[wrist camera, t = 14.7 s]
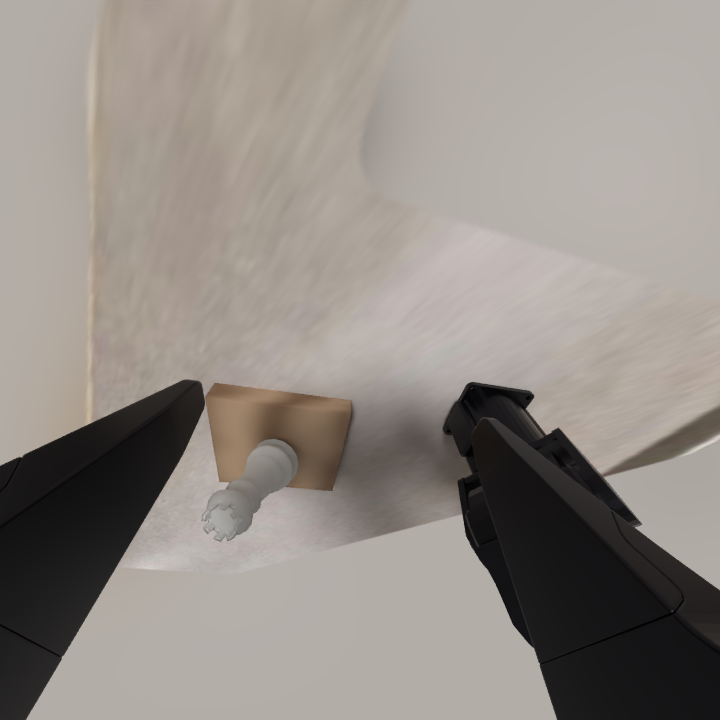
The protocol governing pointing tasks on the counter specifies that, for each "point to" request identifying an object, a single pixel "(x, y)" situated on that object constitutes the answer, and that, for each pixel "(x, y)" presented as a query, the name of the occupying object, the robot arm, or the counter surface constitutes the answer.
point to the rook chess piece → (250, 489)
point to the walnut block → (278, 431)
